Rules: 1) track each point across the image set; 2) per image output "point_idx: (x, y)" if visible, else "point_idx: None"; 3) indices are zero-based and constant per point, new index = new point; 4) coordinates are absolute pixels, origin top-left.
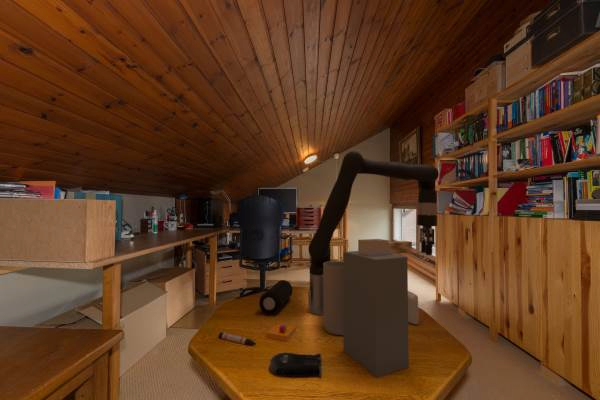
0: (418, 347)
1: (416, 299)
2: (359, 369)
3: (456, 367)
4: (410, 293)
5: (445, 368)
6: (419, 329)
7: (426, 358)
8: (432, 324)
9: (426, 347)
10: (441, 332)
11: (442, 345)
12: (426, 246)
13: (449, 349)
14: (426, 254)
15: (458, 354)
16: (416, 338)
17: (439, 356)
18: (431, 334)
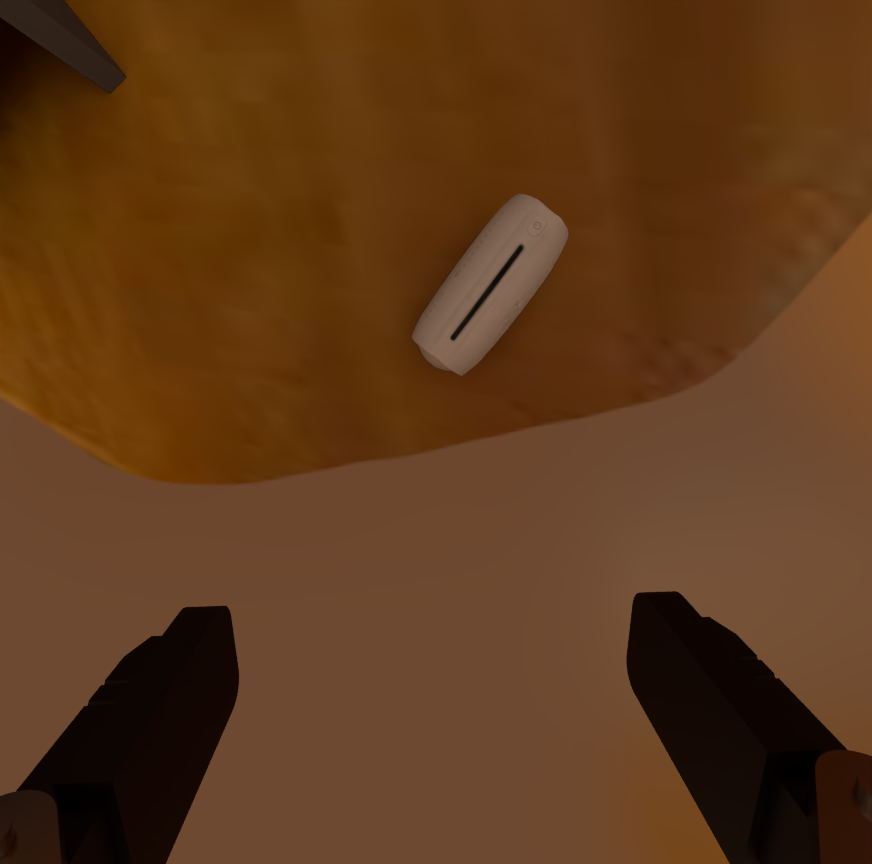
0: (162, 307)
1: (427, 359)
2: None
3: (51, 420)
4: (446, 320)
5: (25, 378)
6: (367, 350)
7: (74, 322)
8: (451, 430)
9: (175, 343)
10: (361, 448)
11: (220, 417)
12: (73, 759)
13: (192, 436)
14: (185, 609)
15: (160, 458)
16: (254, 315)
17: (113, 379)
18: (323, 396)
